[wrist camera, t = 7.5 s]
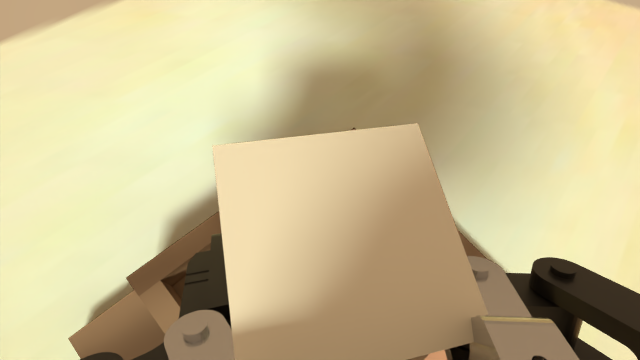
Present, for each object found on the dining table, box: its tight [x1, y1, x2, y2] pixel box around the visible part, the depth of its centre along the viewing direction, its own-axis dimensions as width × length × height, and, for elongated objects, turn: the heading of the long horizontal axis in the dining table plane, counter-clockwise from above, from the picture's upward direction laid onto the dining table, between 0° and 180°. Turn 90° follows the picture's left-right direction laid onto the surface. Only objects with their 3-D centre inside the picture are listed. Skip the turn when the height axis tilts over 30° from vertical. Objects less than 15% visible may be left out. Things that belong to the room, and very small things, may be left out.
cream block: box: [212, 123, 488, 360], centre depth 11 cm, size 5×5×9 cm
